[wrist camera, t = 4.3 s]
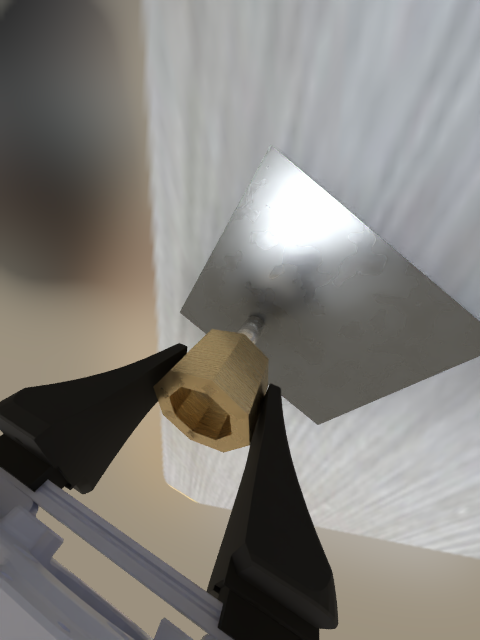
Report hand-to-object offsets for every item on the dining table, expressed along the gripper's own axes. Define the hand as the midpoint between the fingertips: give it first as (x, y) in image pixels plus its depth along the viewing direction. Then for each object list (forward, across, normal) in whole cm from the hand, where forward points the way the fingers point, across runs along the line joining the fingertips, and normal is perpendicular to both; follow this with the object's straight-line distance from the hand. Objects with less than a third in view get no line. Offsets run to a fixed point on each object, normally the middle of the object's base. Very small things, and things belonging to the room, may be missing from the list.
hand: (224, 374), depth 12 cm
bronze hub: (+1, 0, 0) cm, 1 cm away
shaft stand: (+9, -4, -2) cm, 10 cm away
